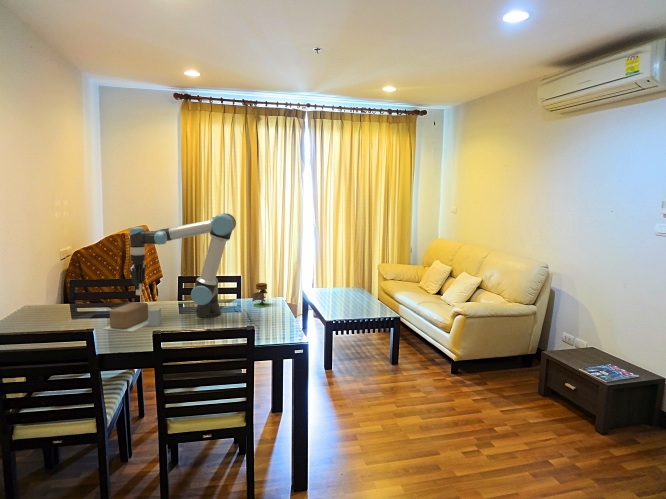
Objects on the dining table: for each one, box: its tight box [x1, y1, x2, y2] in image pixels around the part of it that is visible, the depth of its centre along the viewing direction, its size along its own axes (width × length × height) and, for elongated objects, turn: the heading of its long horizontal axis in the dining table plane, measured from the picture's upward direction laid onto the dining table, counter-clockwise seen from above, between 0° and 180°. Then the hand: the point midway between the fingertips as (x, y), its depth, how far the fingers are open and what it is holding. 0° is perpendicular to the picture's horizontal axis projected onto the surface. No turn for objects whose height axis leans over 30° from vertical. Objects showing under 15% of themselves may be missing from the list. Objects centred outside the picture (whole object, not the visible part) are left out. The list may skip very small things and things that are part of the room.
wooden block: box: [109, 301, 149, 329], centre depth 235 cm, size 10×10×20 cm
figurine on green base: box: [252, 282, 270, 308], centre depth 284 cm, size 12×13×15 cm
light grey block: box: [148, 307, 162, 327], centre depth 236 cm, size 5×5×9 cm
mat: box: [102, 319, 149, 333], centre depth 234 cm, size 18×20×1 cm
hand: (138, 294), depth 241 cm, fingers closed
